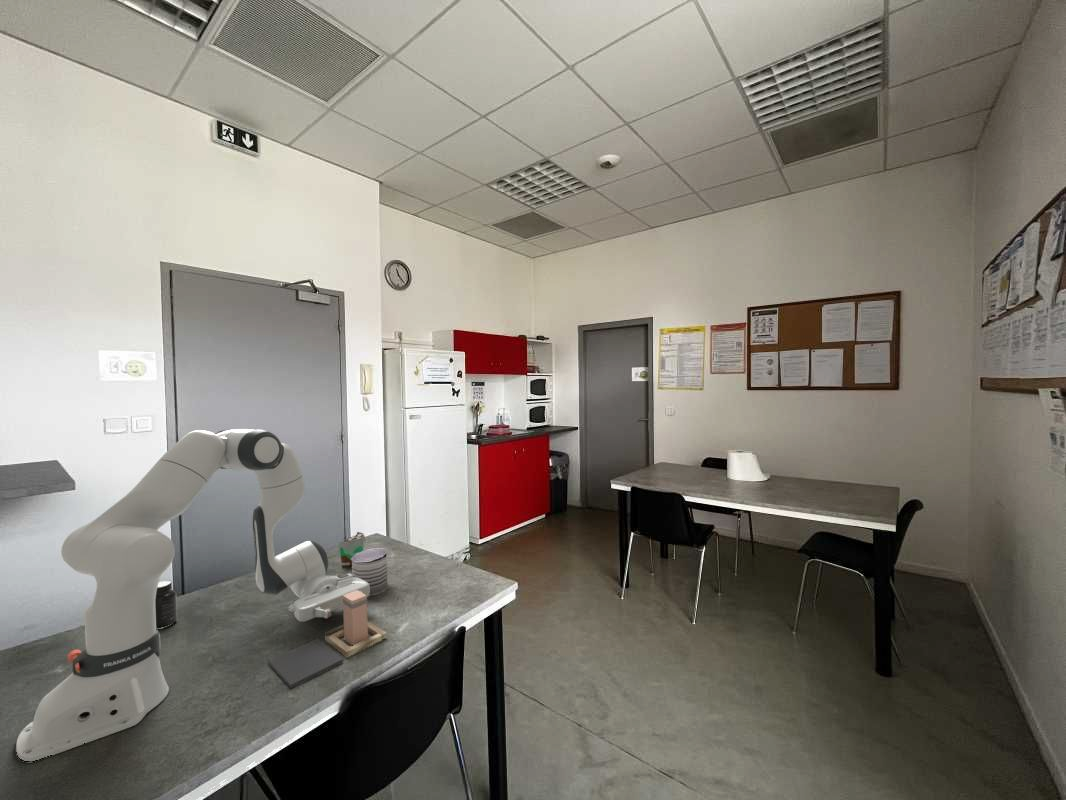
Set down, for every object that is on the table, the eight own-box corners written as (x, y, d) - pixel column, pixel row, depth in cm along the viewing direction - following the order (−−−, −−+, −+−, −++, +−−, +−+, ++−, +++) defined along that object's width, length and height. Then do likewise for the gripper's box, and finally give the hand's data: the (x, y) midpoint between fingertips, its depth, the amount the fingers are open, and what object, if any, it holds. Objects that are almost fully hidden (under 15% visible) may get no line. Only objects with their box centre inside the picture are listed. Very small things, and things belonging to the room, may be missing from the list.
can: (381, 596, 143) (380, 559, 143) (346, 597, 143) (345, 560, 143) (392, 580, 155) (391, 546, 154) (360, 581, 154) (358, 547, 154)
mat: (290, 688, 100) (290, 684, 100) (268, 663, 109) (267, 660, 109) (342, 662, 109) (342, 659, 109) (317, 641, 118) (317, 638, 118)
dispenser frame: (346, 658, 111) (346, 648, 111) (325, 640, 119) (325, 631, 118) (386, 638, 119) (386, 629, 119) (364, 623, 127) (363, 614, 127)
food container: (354, 569, 165) (353, 543, 164) (339, 568, 166) (338, 542, 165) (372, 557, 177) (371, 532, 176) (358, 556, 178) (357, 531, 178)
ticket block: (353, 646, 116) (351, 601, 115) (344, 639, 119) (342, 595, 119) (368, 639, 119) (366, 595, 118) (358, 632, 122) (357, 589, 122)
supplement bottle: (140, 630, 126) (138, 588, 125) (165, 617, 132) (163, 577, 132) (159, 632, 124) (157, 590, 124) (183, 620, 131) (181, 579, 130)
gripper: (285, 595, 123) (306, 611, 114) (355, 571, 138) (379, 583, 129) (285, 618, 123) (307, 635, 114) (356, 591, 139) (379, 605, 130)
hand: (345, 607), depth 122 cm, fingers open, 8 cm apart
